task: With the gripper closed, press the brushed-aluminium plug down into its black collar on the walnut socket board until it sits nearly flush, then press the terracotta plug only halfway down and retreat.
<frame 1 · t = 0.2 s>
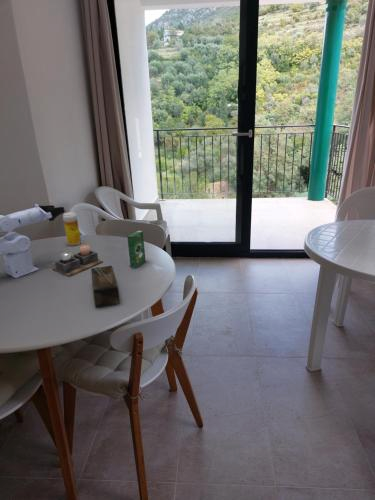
hand: (58, 208, 141), 21 cm above the table, tool horizontal, fingers open, 7 cm apart
coffee box: (138, 264, 137), on the table
terracotta plug: (84, 250, 138), point 5 cm above the table, slide at 0.0 cm
socket board: (78, 266, 137), on the table
aluminium plug: (66, 257, 132), point 5 cm above the table, slide at 0.0 cm
beverage carton: (105, 293, 115), on the table
beer can: (74, 244, 163), on the table
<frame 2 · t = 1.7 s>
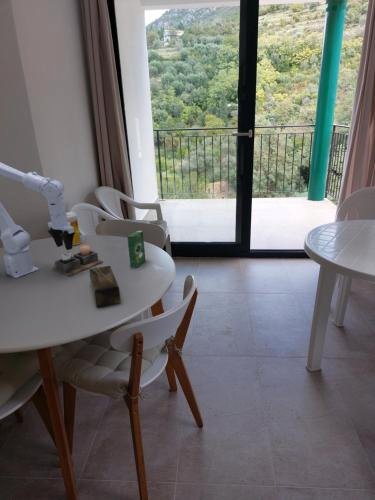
hand: (64, 247, 131), 9 cm above the table, tool pointing down, fingers open, 6 cm apart
nothing on the table moved.
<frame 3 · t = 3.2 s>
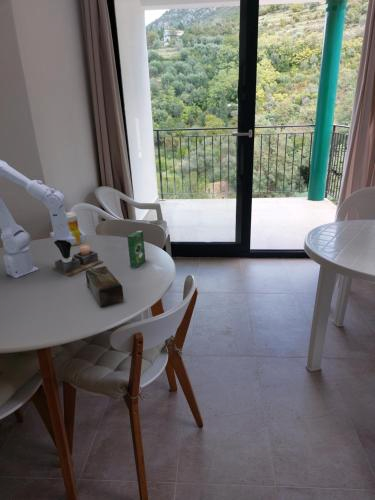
hand: (66, 257, 132), 5 cm above the table, tool pointing down, fingers closed, pressing on aluminium plug
aluminium plug: (67, 261, 133), point 4 cm above the table, slide at 1.6 cm, touching gripper
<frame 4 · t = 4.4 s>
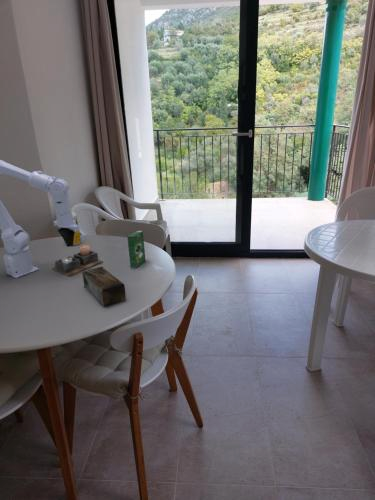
hand: (70, 245, 132), 10 cm above the table, tool pointing down, fingers closed
aluminium plug: (67, 263, 133), point 3 cm above the table, slide at 2.3 cm
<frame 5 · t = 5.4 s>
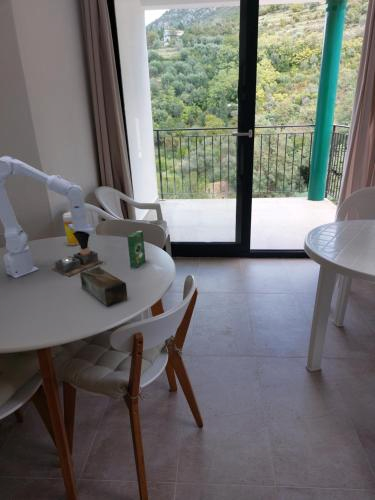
hand: (84, 248, 138), 6 cm above the table, tool pointing down, fingers closed, pressing on terracotta plug
terracotta plug: (85, 252, 139), point 5 cm above the table, slide at 0.6 cm, touching gripper
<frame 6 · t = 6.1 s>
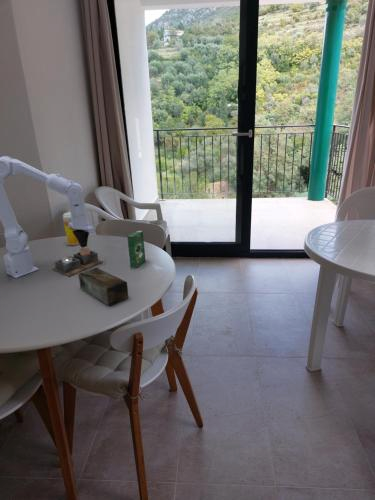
hand: (84, 246, 138), 7 cm above the table, tool pointing down, fingers closed
terracotta plug: (85, 253, 139), point 4 cm above the table, slide at 1.1 cm
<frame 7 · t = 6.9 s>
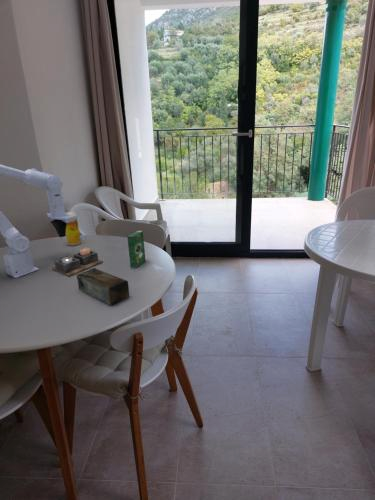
hand: (62, 236, 142), 10 cm above the table, tool pointing down, fingers closed
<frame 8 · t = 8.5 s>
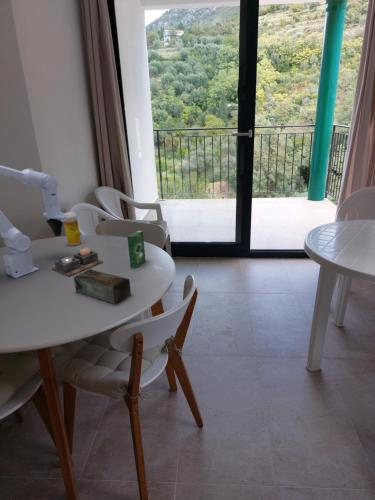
hand: (58, 235, 144), 10 cm above the table, tool pointing down, fingers closed
at the end: aluminium plug slide at 2.3 cm; terracotta plug slide at 1.1 cm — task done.
